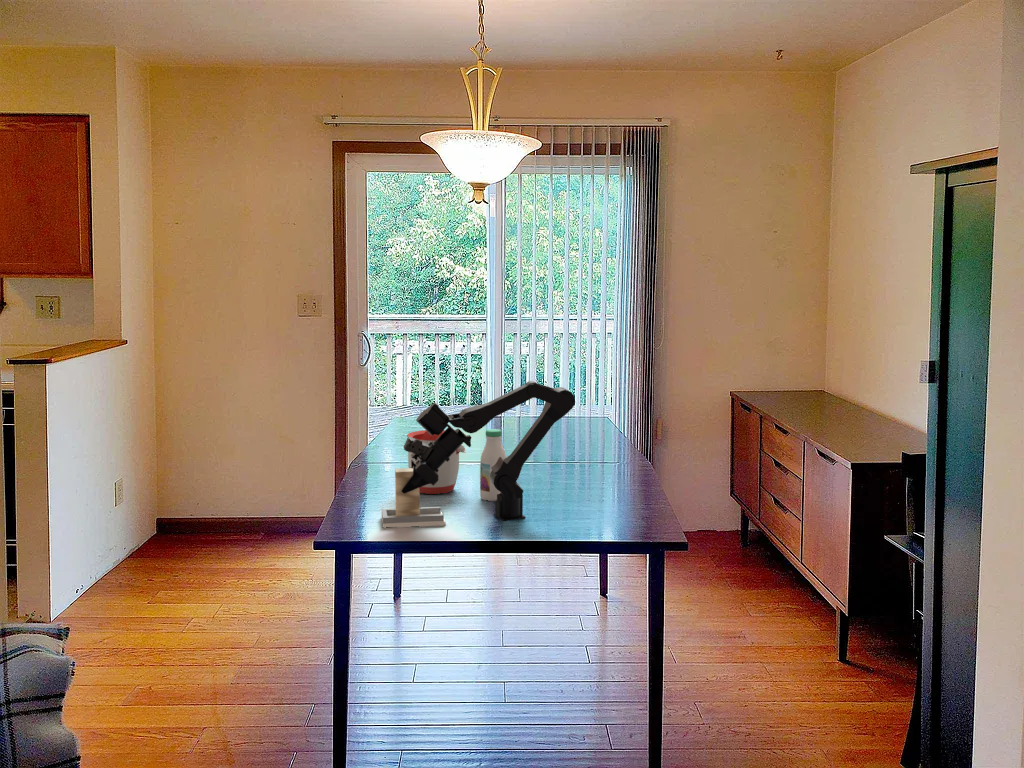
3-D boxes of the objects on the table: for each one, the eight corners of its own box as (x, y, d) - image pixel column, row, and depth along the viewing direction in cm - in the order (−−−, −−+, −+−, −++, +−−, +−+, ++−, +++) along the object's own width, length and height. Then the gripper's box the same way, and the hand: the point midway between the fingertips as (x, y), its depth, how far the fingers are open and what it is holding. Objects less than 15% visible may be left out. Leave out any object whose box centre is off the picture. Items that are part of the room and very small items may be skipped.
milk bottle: (506, 495, 277) (506, 427, 275) (507, 501, 270) (507, 432, 267) (480, 495, 277) (480, 427, 274) (480, 501, 269) (480, 432, 267)
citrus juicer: (464, 497, 274) (464, 429, 272) (404, 496, 275) (403, 428, 272) (467, 484, 290) (467, 420, 287) (411, 484, 290) (410, 419, 288)
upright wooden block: (418, 512, 251) (417, 467, 249) (419, 516, 247) (419, 471, 245) (395, 513, 250) (395, 468, 248) (396, 517, 246) (395, 472, 244)
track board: (441, 515, 255) (441, 506, 255) (445, 525, 245) (445, 515, 245) (381, 517, 252) (381, 508, 252) (383, 528, 243) (383, 518, 242)
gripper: (418, 420, 255) (378, 462, 255) (424, 432, 237) (381, 477, 236) (448, 448, 257) (408, 489, 257) (456, 462, 239) (413, 507, 239)
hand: (402, 490), depth 247 cm, fingers closed on upright wooden block, 4 cm apart
